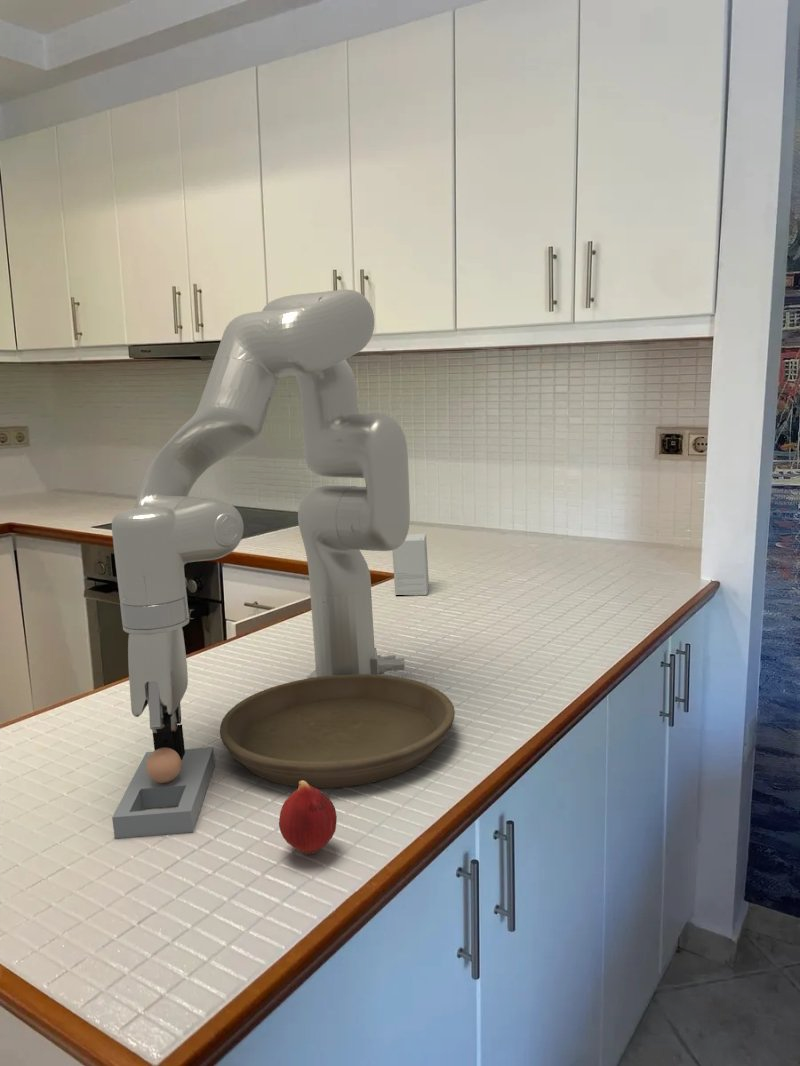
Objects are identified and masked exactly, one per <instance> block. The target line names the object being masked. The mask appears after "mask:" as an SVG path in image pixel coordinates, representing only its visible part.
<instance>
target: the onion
mask: <svg viewBox="0 0 800 1066" xmlns="http://www.w3.org/2000/svg"><path fill="white" fill-rule="evenodd" d="M337 816H338V815H337V810H336V807H335V805H334V803H333V801H332V800H331V799H330V798H329V797H328V795H326V794H325V793H323V792H322V790H320V789H319V788H313V787H312V786H310V785H308V784H307V782H306V781H304V780H303V781H299V786H298V788H297V789H296V790H294V791H293V792H292V793H291V794H290V795H289V796H288V797H287V798H286V800H284V802H283V804H282V806H281V810H280V811H279V819H278V826H279V827H278V828H279V830H280V833H281V836H282V837H283V839H284V841H286V843H287V844H288V845H290V846H291V847H293V848H294V849H295V850H298V851H299V852H301V853H303V854H305V855H308V856H309V855H313V854H314V853H316V852H318V851H320V850H321V849H323V848H324V847H326V845H327V844H328V843H329V842H330V841H331V840H332V838H333V836H334V835H335V832H336V828H337Z"/></svg>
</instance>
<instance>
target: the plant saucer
mask: <svg viewBox="0 0 800 1066" xmlns="http://www.w3.org/2000/svg"><path fill="white" fill-rule="evenodd" d="M455 714H456V712H455V707H454V705H453V703H452V701H451V699H450V698H449V697H448V696H447V695H446V694H444V693H443V692H442V691H441V690H439V689H437V688H435V687H433V686H430V685H429V684H426V683H424V682H422V681H421V682H420V681H417V680H414V679H410V678H405V677H399V676H392V675H386V676H385V675H368V674H352V675H332V676H322V677H314V678H308V679H307V678H303V679H299V680H294V681H290V682H285V683H282V684H278V685H276V686H271V687H269V688H266V689H263V690H261V691H258V692H255V693H254V694H252V695H250V696H248V697H246V698H244V699H243V700H241V701H239V702H238V703H237V704H235V705H234V706H233V707H232V708H230V709H229V710H228V711H227V713H226V714H225V715H224V717H223V718H222V720H221V723H220V726H219V727H220V728H219V737H220V739H221V742H222V745H223V746H224V747H225V749H226V750H227V752H228V753H229V754H230V756H232V757H233V758H234V759H235V760H237V761H238V762H239V763H241V764H242V765H244V767H246V769H247V770H248V771H250V772H252V774H254V775H256V776H258V777H260V778H262V779H264V780H268V781H270V782H274V783H278V784H280V785H281V784H282V785H286V786H292V787H299V781H303V780H304V781H306V782H307V784H308V785H310V786H312V787H313V788H316V789H320V788H321V789H331V788H332V789H333V788H343V787H344V788H345V787H354V786H360V785H365V784H372V783H375V782H379V781H383V780H387V779H389V778H393V777H395V776H398V775H400V774H402V773H405V772H407V771H409V770H410V769H413V768H415V767H416V766H417V765H419V764H421V763H422V762H424V761H425V760H426V759H427V758H428V757H429V756H430V755H431V754H432V753H433V752H434V750H435V749H436V747H438V746H439V745H440V744H441V743H442V742H443V740H444V739H445V738H446V737H447V735H448V733H449V731H450V730H451V728H452V726H453V723H454V720H455Z"/></svg>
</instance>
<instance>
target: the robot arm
mask: <svg viewBox="0 0 800 1066" xmlns="http://www.w3.org/2000/svg"><path fill="white" fill-rule="evenodd" d="M373 310H374V309H373V307H372V305H371V303H370V302H369V300H368V299H367V297H365V296H364V295H363V294H362V293H360V292H358V291H356V290H353V289H340V290H339V289H336V290H335V289H334V290H330V291H329V290H328V291H320V292H309V293H300V294H292V295H287V296H281V297H279V298H275V299H273V300H271V301H269V302H268V303H266V305H265V306H264V307H263V309H262V310H261V311H255V312H248V313H243V314H240V315H238V316H236V317H234V318H233V319H232V320H231V321H229V322H228V324H227V326H226V327H225V329H224V331H223V334H222V337H221V339H220V343H219V346H218V349H217V351H216V355H215V357H214V360H213V362H212V366H211V369H210V372H209V375H208V377H207V381H206V384H205V387H204V389H203V392H202V395H201V398H200V401H199V404H198V406H197V409H196V412H195V413H194V414H193V416H191V418H190V419H188V421H186V423H185V424H183V425H182V426H181V427H180V428H178V430H177V431H176V433H174V434H173V435H172V437H171V438H170V439H169V440H168V442H166V443H165V445H163V447H162V448H161V449H160V450H159V451H158V453H157V454H156V456H154V458H153V460H152V461H151V462H150V465H149V466H148V468H147V471H146V473H145V475H144V478H143V481H142V483H141V486H140V488H139V492H138V495H137V498H136V500H135V504H134V508H129V509H124V510H122V511H120V512H118V513H116V514H115V515H114V516H113V518H112V521H111V535H112V545H113V554H114V561H115V570H116V579H117V588H118V594H119V595H118V596H119V603H120V604H119V606H120V613H121V625H122V630H123V631H124V632H125V633H127V634H128V638H127V639H128V641H127V644H128V645H127V646H128V647H127V652H128V653H127V657H128V658H127V660H128V678H129V681H128V682H129V694H130V707H131V710H130V711H131V714H132V715H133V716H134V717H135V718H138V717H140V716H141V715H142V714H143V712H144V711H145V709H146V707H148V712H149V713H148V714H149V729H150V730H151V732H152V739H153V747H154V749H153V751H155V750H157V749H159V748H171V749H173V750H175V751H176V752H177V753H178V754H179V756H180V758H181V760H182V759H183V756H184V754H185V749H186V748H185V747H186V746H185V741H184V740H185V739H184V730H183V724H182V709H181V701H182V699H183V697H184V695H185V693H186V691H187V689H188V685H189V683H188V681H189V679H188V678H189V675H188V673H189V672H188V664H187V663H188V661H187V654H186V645H185V638H184V637H185V636H184V630H183V627H185V626H186V625H188V624H189V623H190V615H189V614H190V613H189V605H188V595H187V594H188V593H187V588H186V587H187V586H186V577H185V565H186V564H187V563H193V562H203V561H204V562H205V561H214V560H218V559H221V558H224V557H226V556H228V555H230V554H231V553H232V552H233V551H235V549H236V548H237V547H238V546H239V544H240V542H241V540H242V538H243V534H244V530H245V529H244V528H245V527H244V521H243V517H242V516H241V513H240V511H238V509H237V508H236V507H235V506H234V505H233V504H231V503H230V502H227V501H225V500H223V499H219V498H212V497H196V496H189V494H190V492H191V490H192V488H193V486H194V485H195V483H196V482H197V481H198V479H199V478H200V477H201V476H202V475H203V474H204V473H205V472H207V470H208V469H209V468H211V467H212V466H213V465H215V464H217V463H218V462H220V461H222V460H223V459H226V458H227V457H230V456H232V455H233V454H235V453H237V452H238V451H241V450H243V449H244V448H246V447H248V446H249V445H250V444H253V442H255V441H256V440H258V438H259V437H260V436H261V434H262V431H263V428H264V426H265V421H266V418H267V416H268V413H269V412H268V411H269V409H270V406H271V403H272V399H273V396H274V393H275V390H276V387H277V384H278V381H279V380H280V378H282V377H292V376H295V378H296V380H297V383H298V387H299V393H300V403H301V404H300V405H301V419H302V420H301V421H302V422H301V423H302V437H303V440H302V441H303V450H304V458H305V462H306V466H307V467H308V468H309V470H310V471H311V472H312V473H314V474H316V475H319V476H321V477H328V478H348V479H349V478H351V479H352V478H353V479H354V478H355V479H358V478H359V479H364V481H365V486H356V485H325V486H323V485H322V486H318V487H316V488H313V489H312V490H310V491H309V492H307V493H306V494H305V495H304V496H303V497H302V499H301V501H300V503H299V506H298V512H297V522H298V528H299V532H300V535H301V540H302V542H303V543H302V544H303V546H304V551H305V555H306V561H307V568H308V569H307V570H308V579H309V591H310V592H309V593H310V594H309V595H310V607H311V609H310V610H311V623H312V632H313V633H312V635H313V646H314V647H313V648H314V649H313V650H314V662H315V670H313V671H312V672H311V673H309V675H307V677H306V679H308V678H314V677H322V676H332V675H352V674H368V675H385V676H387V674H386V672H388V671H393V672H396V671H397V672H399V671H405V658H404V657H400V658H399V657H398V658H396V654H395V655H393V654H392V655H387V656H382V655H381V654H377V653H378V652H377V648H376V647H375V635H374V633H375V632H374V617H373V616H374V615H373V613H374V612H373V599H372V598H373V597H372V582H371V581H372V580H371V579H372V578H371V573H370V569H369V565H368V563H367V561H366V559H365V557H364V555H363V554H362V551H371V552H375V551H376V552H389V551H392V550H394V549H397V548H398V547H400V546H401V545H402V544H403V542H404V541H405V539H406V537H407V535H408V533H409V529H410V524H411V523H410V520H411V518H410V517H411V510H410V509H411V508H410V507H411V504H410V503H411V501H410V479H409V473H410V472H409V454H408V444H407V439H406V436H405V433H404V430H403V427H402V426H401V424H400V423H399V422H398V421H397V419H395V418H394V417H392V416H391V415H388V414H385V413H384V414H383V413H379V412H378V413H375V412H373V413H372V412H371V413H367V412H365V413H360V409H359V400H358V398H359V397H358V388H357V380H356V377H355V374H354V372H353V369H352V368H351V366H350V364H349V363H348V361H347V359H349V358H350V357H352V356H354V355H356V354H358V353H359V352H361V351H363V350H364V349H365V347H366V346H367V345H368V344H369V342H370V341H371V339H372V336H373V333H374V330H375V313H374V311H373Z"/></svg>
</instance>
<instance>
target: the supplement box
mask: <svg viewBox="0 0 800 1066" xmlns="http://www.w3.org/2000/svg"><path fill="white" fill-rule="evenodd" d="M427 542H428V541H427V533H416V534H415V533H413V534H412V533H411V534H407V537H406V539H405V541H404V542H403V544H402V545H401V546H400V547H398V548H397V549H394V550H391V551H392V552H391V553H392V565H393V578H394V579H393V581H394V591H395V592H394V593H395V594H394V595H395V596H396V595H414V596H428V594H429V590H430V582H429V581H430V580H429V565H428V563H429V562H428V545H427V544H428V543H427ZM428 589H429V590H428Z"/></svg>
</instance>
